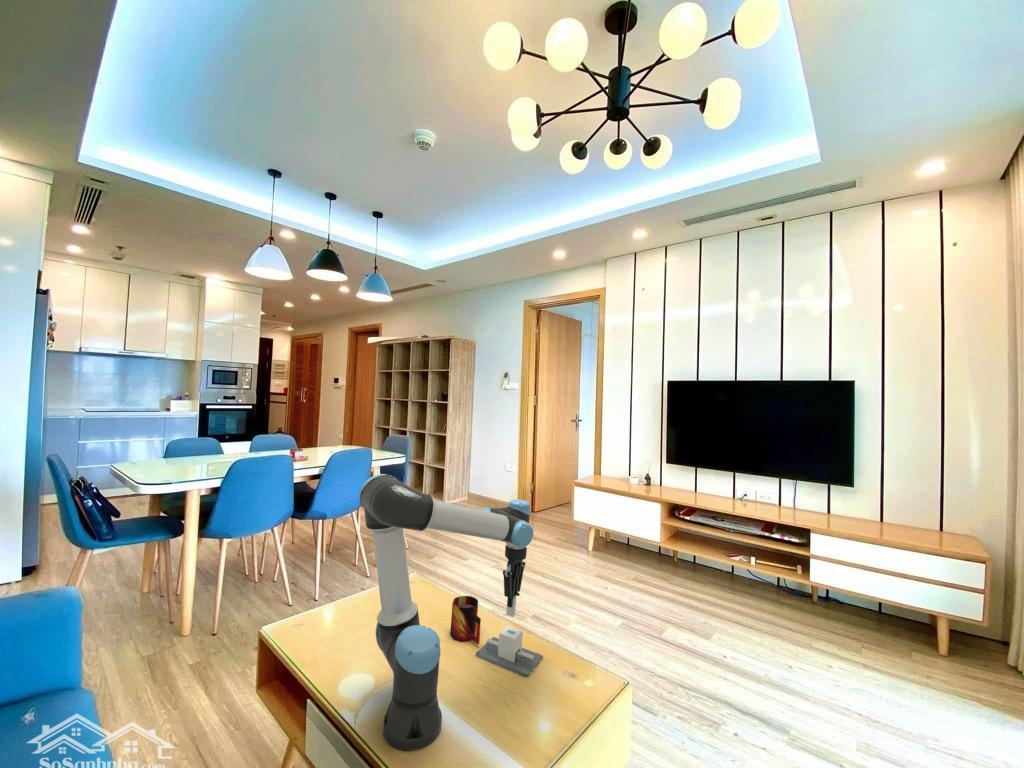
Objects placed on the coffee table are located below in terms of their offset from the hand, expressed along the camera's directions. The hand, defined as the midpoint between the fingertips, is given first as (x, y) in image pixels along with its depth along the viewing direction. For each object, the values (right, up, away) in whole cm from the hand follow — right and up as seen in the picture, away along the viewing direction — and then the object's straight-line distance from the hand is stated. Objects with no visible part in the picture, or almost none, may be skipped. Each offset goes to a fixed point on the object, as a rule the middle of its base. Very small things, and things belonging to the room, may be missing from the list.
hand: (510, 615), depth 142 cm
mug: (-16, -14, +11) cm, 24 cm away
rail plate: (0, -14, 0) cm, 14 cm away
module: (0, -13, 0) cm, 13 cm away
